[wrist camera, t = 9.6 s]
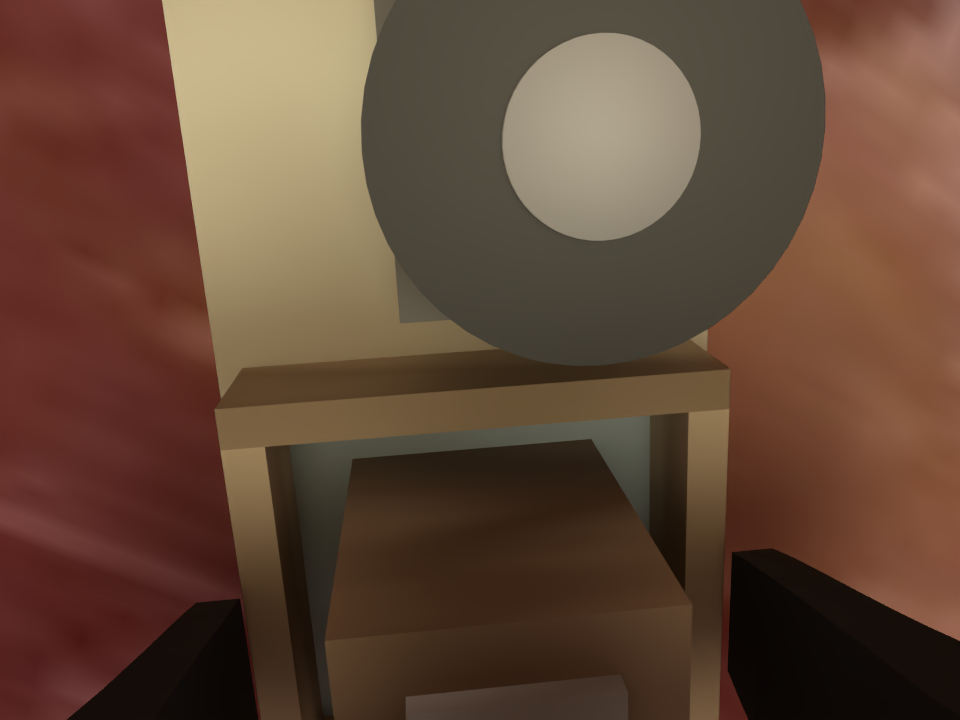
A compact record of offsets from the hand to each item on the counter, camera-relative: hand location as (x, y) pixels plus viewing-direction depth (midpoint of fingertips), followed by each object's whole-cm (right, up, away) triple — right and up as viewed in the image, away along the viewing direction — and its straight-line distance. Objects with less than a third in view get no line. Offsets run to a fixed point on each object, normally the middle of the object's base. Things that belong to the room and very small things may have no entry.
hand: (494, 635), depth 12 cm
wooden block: (0, +1, +2) cm, 2 cm away
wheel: (+1, +7, 0) cm, 7 cm away
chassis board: (0, +4, +3) cm, 5 cm away
